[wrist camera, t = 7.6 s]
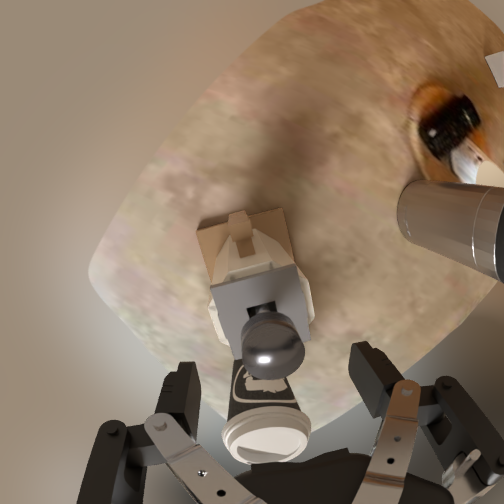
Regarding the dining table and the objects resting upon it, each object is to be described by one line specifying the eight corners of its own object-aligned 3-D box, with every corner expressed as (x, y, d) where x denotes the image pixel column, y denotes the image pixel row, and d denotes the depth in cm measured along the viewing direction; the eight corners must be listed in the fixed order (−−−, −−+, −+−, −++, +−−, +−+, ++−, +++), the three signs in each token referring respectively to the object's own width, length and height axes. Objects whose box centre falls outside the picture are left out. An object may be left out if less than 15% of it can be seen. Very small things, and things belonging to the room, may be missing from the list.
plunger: (271, 245, 26) (310, 307, 13) (282, 290, 27) (321, 375, 14) (223, 258, 26) (217, 331, 13) (236, 302, 27) (242, 396, 14)
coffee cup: (208, 362, 36) (201, 446, 21) (262, 325, 35) (280, 407, 20) (251, 397, 38) (260, 475, 24) (301, 365, 37) (331, 442, 23)
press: (278, 197, 31) (317, 210, 17) (298, 285, 34) (339, 351, 20) (194, 220, 31) (164, 251, 17) (220, 306, 34) (216, 383, 20)
